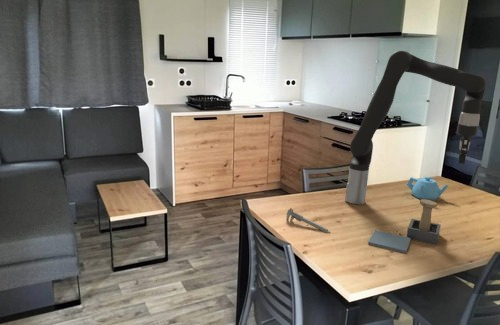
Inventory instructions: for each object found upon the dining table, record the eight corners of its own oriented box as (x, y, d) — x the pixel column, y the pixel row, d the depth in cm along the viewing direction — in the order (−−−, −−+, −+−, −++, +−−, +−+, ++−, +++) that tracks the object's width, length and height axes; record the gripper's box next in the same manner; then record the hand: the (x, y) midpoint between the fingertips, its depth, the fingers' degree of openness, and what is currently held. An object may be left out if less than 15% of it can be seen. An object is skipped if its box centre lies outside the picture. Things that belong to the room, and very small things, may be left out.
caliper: (286, 221, 177) (287, 207, 176) (287, 220, 178) (288, 206, 176) (329, 233, 166) (330, 219, 164) (330, 232, 167) (331, 218, 165)
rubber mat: (368, 244, 157) (368, 241, 157) (374, 232, 169) (375, 229, 168) (406, 253, 151) (406, 250, 151) (410, 240, 162) (410, 237, 162)
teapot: (429, 191, 224) (432, 172, 221) (447, 201, 210) (450, 181, 207) (404, 192, 221) (407, 173, 219) (420, 201, 207) (423, 181, 204)
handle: (426, 240, 162) (432, 205, 158) (412, 234, 167) (417, 200, 164) (433, 238, 165) (439, 203, 161) (419, 232, 170) (424, 198, 166)
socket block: (406, 238, 164) (407, 228, 163) (410, 228, 174) (411, 218, 172) (437, 245, 159) (438, 234, 158) (439, 234, 169) (440, 224, 167)
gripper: (458, 120, 178) (452, 156, 182) (458, 124, 165) (451, 163, 170) (478, 122, 175) (470, 158, 179) (479, 127, 162) (471, 166, 167)
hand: (461, 161), depth 174 cm, fingers open, 8 cm apart
